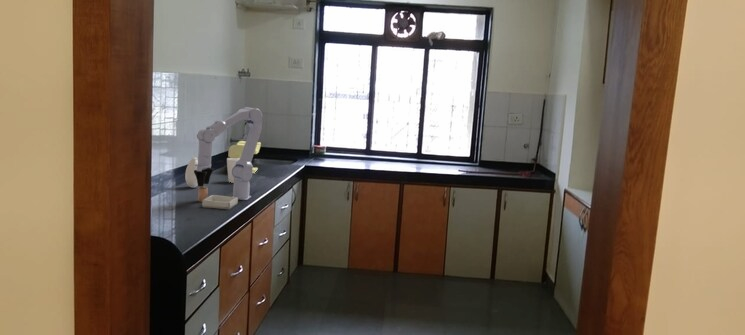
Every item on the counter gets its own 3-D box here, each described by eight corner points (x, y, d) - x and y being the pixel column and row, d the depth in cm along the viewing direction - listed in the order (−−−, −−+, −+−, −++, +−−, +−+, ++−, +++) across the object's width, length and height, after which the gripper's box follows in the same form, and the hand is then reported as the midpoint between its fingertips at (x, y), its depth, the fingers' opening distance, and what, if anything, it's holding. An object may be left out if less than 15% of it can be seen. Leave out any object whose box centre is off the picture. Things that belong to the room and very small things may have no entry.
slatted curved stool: (235, 167, 380) (236, 140, 378) (259, 168, 382) (260, 142, 380) (227, 173, 351) (228, 144, 348) (253, 175, 352) (255, 146, 350)
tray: (211, 201, 263) (212, 194, 262) (237, 203, 263) (238, 197, 262) (202, 207, 249) (202, 200, 249) (229, 209, 249) (229, 202, 248)
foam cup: (222, 181, 321) (223, 158, 319) (237, 180, 327) (238, 157, 325) (231, 183, 314) (232, 160, 312) (245, 183, 320) (247, 160, 319)
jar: (199, 199, 264) (200, 185, 263) (208, 200, 264) (208, 186, 263) (196, 201, 260) (197, 187, 259) (205, 202, 260) (206, 187, 259)
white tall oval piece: (196, 189, 288) (197, 154, 286) (181, 187, 290) (183, 152, 288) (203, 187, 296) (205, 153, 294) (189, 185, 297) (191, 151, 295)
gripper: (201, 153, 267) (199, 181, 268) (190, 156, 252) (189, 186, 254) (216, 154, 266) (214, 183, 268) (206, 157, 252) (204, 188, 254)
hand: (203, 185), depth 261 cm, fingers open, 7 cm apart
